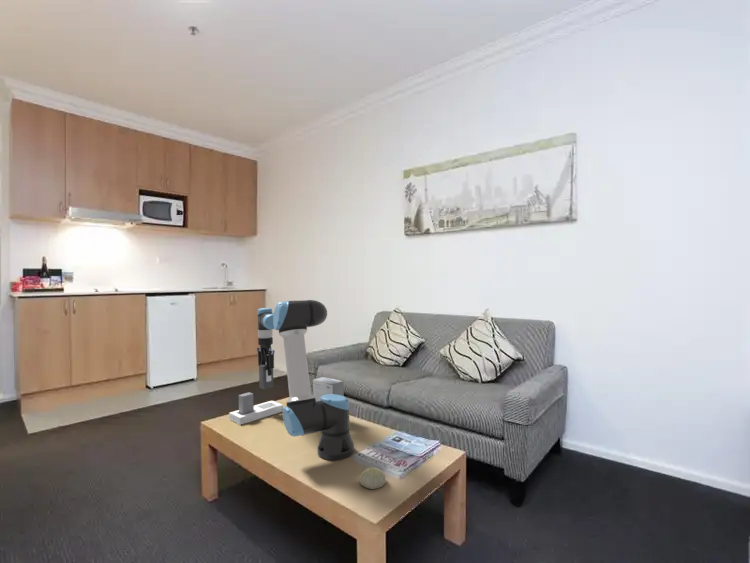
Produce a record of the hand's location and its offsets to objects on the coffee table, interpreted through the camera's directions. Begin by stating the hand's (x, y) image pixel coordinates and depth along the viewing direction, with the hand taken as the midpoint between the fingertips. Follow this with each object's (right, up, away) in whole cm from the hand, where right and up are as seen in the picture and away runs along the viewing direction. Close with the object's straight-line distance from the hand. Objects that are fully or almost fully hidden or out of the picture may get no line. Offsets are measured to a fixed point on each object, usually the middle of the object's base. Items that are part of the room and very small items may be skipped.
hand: (266, 380), depth 211 cm
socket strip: (-4, -17, -4) cm, 18 cm away
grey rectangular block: (0, -4, 0) cm, 4 cm away
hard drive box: (+35, -17, -11) cm, 40 cm away
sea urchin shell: (+57, -19, -72) cm, 94 cm away
